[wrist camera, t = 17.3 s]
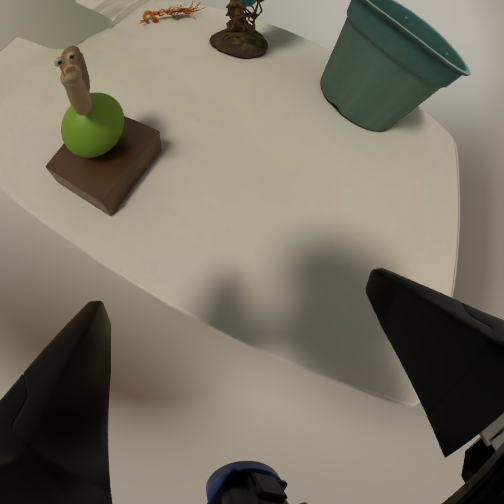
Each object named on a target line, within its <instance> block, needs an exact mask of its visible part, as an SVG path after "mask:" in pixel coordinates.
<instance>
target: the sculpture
mask: <svg viewBox="0 0 504 504" xmlns="http://www.w3.org/2000/svg"><path fill="white" fill-rule="evenodd" d="M256 1H257V5H256V9H254V7H253V6H252V5H253V4H254V3H255V2H256ZM262 1H264V0H230V3H229V4H228V5H227V6H226V8H228V12H227V14H226V16H229V17H230V19H232V20H229V22H228V23H226V24H227V27H228V28H227V29H225V30H222V31H220V32H217V33H216V34H214V35H212V36H211V38H210V43H211V45H213V46H215V47H216V48H217V49H218V50H219V51H222V52H224V53H227V54H230V55H234V56H238V57H243V58H251V57H255V56H259V55H261V54H263V53H265V52H266V50H267V49H268V43H267V41H266V40H265V38H264V37H263V36H262V34H260V33H259V32H258V31H255V23H254V22H255V19H256V18H257V17H258V16H259V14H260V13H261V12H262V8H261V5H260V2H262ZM258 4H259V5H260V9H261V11H260V13H259V14H256V12H257V8H258ZM246 6H250V7H252V8H253V9H254V12H253V13H251V12H250V11H249V10H247V9H246ZM246 10H247V11H248V12H249V13H247V12H246ZM244 11H245V13H244ZM246 17H248V20H249V19H250V17H251V18H252V19H253V21H251V20H249V21H250V22H251V23H252V24H253V25H251V24H249V23H248V21H247V20H246Z"/></svg>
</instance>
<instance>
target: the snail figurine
mask: <svg viewBox="0 0 504 504" xmlns="http://www.w3.org/2000/svg"><path fill="white" fill-rule="evenodd" d="M54 64H55V66H57V67H59V66H60V69H61V71H62V73H61V83H62V84H63V85H64V87H65V89H66V92H67V95H68V98H69V101H70V103H71V106H70V107H69V108H68V110H67V111H66V113H65V115H64V118H63V121H62V127H61V133H62V138H63V141H64V144H65V145H66V147H67V148H68V149H69V150H70V151H71V152H72V153H73V154H75V155H77V156H80V157H84V158H93V157H97V156H100V155H102V154H104V153H106V152H108V151H109V150H110V149H111V148H112V147H113V146H114V145H115V144H116V143H117V142H118V140H119V138H120V136H121V134H122V131H123V128H124V113H123V110H122V108H121V106H120V104H119V103H118V102H117V101H116V100H115V99H114V98H113V97H111V96H110V95H107V94H104V93H90V92H89V90H90V84H89V82H90V80H89V75H88V71H87V68H86V64H85V60H84V57H83V54H82V53H81V52H80V50H79V48H78V47H76V46H70V47H68V48H66V49H65V50H64V51H63V53H62V56H61V57H58V58H57V59H56V60H55V62H54Z"/></svg>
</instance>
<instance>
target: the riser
mask: <svg viewBox="0 0 504 504" xmlns="http://www.w3.org/2000/svg"><path fill="white" fill-rule="evenodd" d="M161 151H162V148H161V140H160V132H159V131H158V130H155V129H153V128H151V127H149V126H146V125H144V124H142V123H139V122H137V121H135V120H132V119H130V118H128V117H125V116H124V128H123V131H122V134H121V136H120V138H119V140H118V142H117V143H116V144H115V145H114V146H113V147H112V148H111V149H110V150H109V151H108V152H106V153H104V154H102V155H100V156H97V157H93V158H84V157H80V156H77V155H75V154H73V153H72V152H71V151H70V150H69V149H68V148H67V147H66V145H65V144H63V145H62V147H61V148H60V149H59V150H58V151H57V153H56V154H55V155H54V156H53V158H52V159H51V160H50V161H49V163H48V164H47V165H46V168H47V169H48V171H49V172H50V173H51V174H52V176H53V177H54V178H55V180H56V181H57V182H58V183H60V184H61V185H63V186H64V187H66V188H67V189H69V190H70V191H72V192H74V193H75V194H77V195H78V196H80V197H81V198H83V199H84V200H86V201H87V202H89V203H91V204H92V205H94V206H95V207H97V208H98V209H100V210H102V211H103V212H105V213H106V214H108V215H110V216H113V214H114V213H115V211H116V210H117V208H118V207H119V205H120V204H121V203H122V201H123V200H124V198H125V197H126V196H127V194H128V193H129V191H130V190H131V189H132V187H133V186H134V185H135V183H136V182H137V181H138V179H139V178H140V177H141V176H142V174H143V173H144V172H145V170H146V169H147V168H148V167H149V165H150V164H151V163H152V162H153V160H154V159H155V158H156V157H157V156H158V154H159V153H160V152H161Z"/></svg>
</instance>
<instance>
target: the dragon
mask: <svg viewBox="0 0 504 504" xmlns="http://www.w3.org/2000/svg"><path fill="white" fill-rule="evenodd" d="M186 4H187V3H186ZM199 4H200V3H199ZM199 4H198V5H199ZM192 5H193V1H192ZM192 5H191V6H192ZM198 5H197V6H198ZM177 6H178V5H177ZM191 6H190V7H191ZM197 6H196V7H197ZM180 7H181V6H180ZM180 7H179V8H178V7H175V8H178V9H175V8H173V7H172V8H173V10H171V11H170V10H168V9H170V8H171V7H169V8H168V9H167V11H166V10H164V9H161V10H164V11H161V10H160V11H153V12H152V11H145V12H144V14H143V19H144V20H142V21H141V20H140V21H141V22H140V23H144V22H143V21H145V22H147V21H148V19H147V17H146V15H150V17H151V20H152V21H153V22H156V21H157V18H156V17H155V15H159V16H163V15H164V14H162V13H166V14H167V15H168V14H169V13H170V14H169V15H172V16H173V17H174V18H176V17H177V16H180V15H178V13H180V12H183V13H185V14H191V13H190V12H192V13H193V12H195V11H199V10H201V9H199V10H194V8H193V9H191V8H192V7H193V6H192V7H191V8H190V7H189V8H190V9H191V10H189V8H180ZM182 7H183V6H182ZM196 7H195V9H197V8H198V7H197V8H196ZM204 8H205V7H204ZM174 9H175V10H174ZM202 9H203V8H202ZM176 10H177V11H176ZM192 10H193V11H192ZM173 12H175V13H176V12H178V13H177V15H175V13H174V15H175V16H174V15H173ZM187 12H189V13H187ZM160 14H161V15H160ZM181 16H182V14H181ZM194 18H195V17H194ZM195 19H196V18H195Z"/></svg>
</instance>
